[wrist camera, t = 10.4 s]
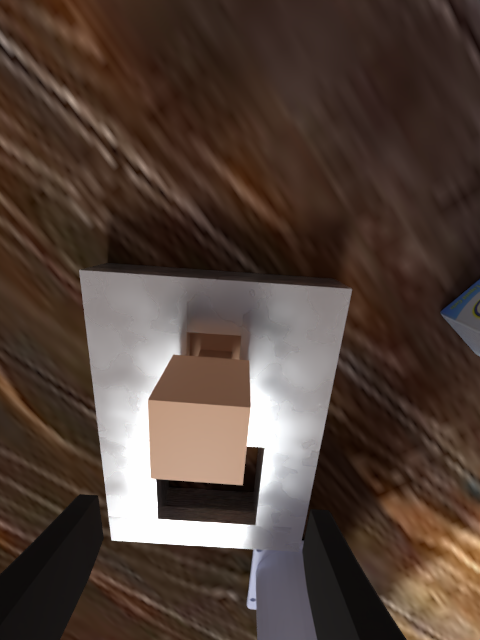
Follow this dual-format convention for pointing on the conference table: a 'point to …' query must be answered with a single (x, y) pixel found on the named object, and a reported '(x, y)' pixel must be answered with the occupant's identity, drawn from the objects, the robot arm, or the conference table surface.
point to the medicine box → (466, 316)
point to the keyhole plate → (265, 389)
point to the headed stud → (201, 413)
